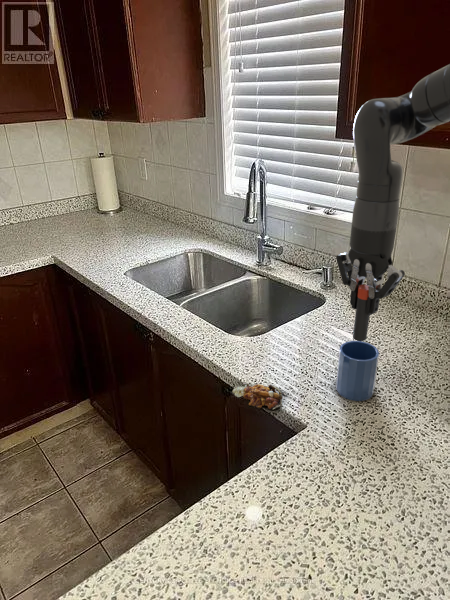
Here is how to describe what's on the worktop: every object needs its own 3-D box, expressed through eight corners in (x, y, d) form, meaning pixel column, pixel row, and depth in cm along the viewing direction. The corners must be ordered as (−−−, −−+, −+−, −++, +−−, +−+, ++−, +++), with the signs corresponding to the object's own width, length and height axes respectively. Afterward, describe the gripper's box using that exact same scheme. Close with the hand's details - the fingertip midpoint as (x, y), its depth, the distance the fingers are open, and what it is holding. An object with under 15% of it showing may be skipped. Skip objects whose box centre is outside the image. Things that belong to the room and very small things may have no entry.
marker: (369, 338, 88) (376, 287, 83) (360, 342, 86) (367, 291, 82) (358, 332, 90) (364, 283, 85) (349, 337, 88) (355, 287, 83)
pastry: (238, 384, 106) (237, 371, 105) (287, 395, 102) (287, 382, 100) (226, 402, 100) (226, 389, 99) (278, 414, 96) (278, 401, 94)
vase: (380, 392, 101) (386, 351, 97) (357, 407, 97) (362, 365, 92) (351, 376, 107) (355, 336, 103) (328, 389, 103) (332, 349, 98)
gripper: (423, 227, 75) (407, 318, 83) (354, 211, 85) (346, 293, 92) (397, 237, 71) (382, 331, 78) (328, 218, 81) (321, 303, 88)
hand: (363, 310), depth 85 cm, fingers closed on marker, 2 cm apart
